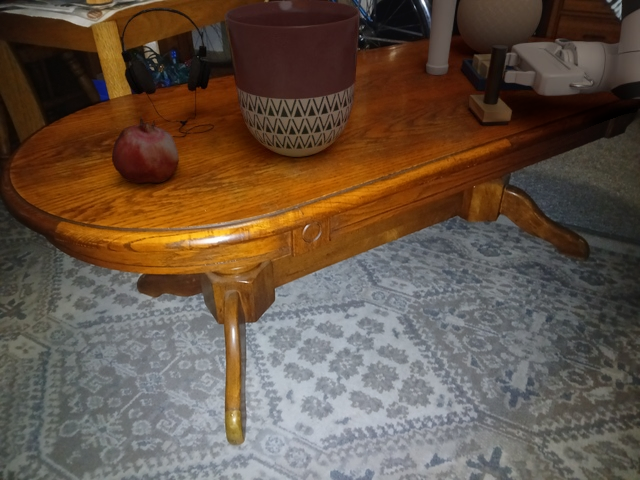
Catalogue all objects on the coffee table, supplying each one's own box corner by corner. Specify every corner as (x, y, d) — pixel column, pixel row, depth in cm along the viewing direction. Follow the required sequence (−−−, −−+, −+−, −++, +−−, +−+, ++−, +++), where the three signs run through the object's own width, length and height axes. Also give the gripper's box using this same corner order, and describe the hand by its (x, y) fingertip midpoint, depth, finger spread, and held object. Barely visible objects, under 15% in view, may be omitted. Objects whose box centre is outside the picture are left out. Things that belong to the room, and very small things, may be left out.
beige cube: (496, 79, 115) (499, 60, 112) (502, 84, 111) (506, 65, 109) (478, 79, 114) (481, 61, 112) (484, 85, 111) (487, 66, 109)
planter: (256, 125, 95) (245, -1, 83) (361, 129, 93) (365, 0, 80) (224, 172, 79) (205, 25, 67) (350, 179, 77) (353, 28, 65)
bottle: (427, 75, 119) (440, -48, 105) (423, 69, 123) (435, -50, 109) (450, 75, 119) (465, -48, 105) (444, 68, 123) (459, -51, 109)
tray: (560, 68, 122) (562, 57, 121) (588, 89, 109) (591, 77, 108) (461, 69, 123) (462, 59, 121) (477, 90, 110) (479, 78, 108)
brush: (492, 108, 101) (505, 40, 94) (509, 125, 93) (523, 52, 86) (467, 108, 101) (478, 40, 93) (482, 126, 93) (494, 53, 86)
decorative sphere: (482, 41, 145) (495, -39, 134) (547, 55, 132) (567, -33, 121) (436, 53, 135) (445, -32, 123) (502, 70, 122) (519, -24, 110)
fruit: (109, 177, 78) (92, 114, 73) (166, 159, 83) (154, 99, 78) (133, 199, 73) (116, 133, 67) (193, 179, 77) (182, 115, 72)
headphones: (132, 141, 90) (103, 19, 78) (138, 118, 99) (112, 6, 87) (219, 134, 92) (203, 14, 81) (217, 112, 101) (202, 2, 90)
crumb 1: (488, 71, 119) (491, 54, 117) (493, 76, 116) (497, 58, 114) (471, 72, 119) (473, 54, 117) (476, 77, 116) (479, 59, 113)
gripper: (593, 105, 85) (509, 105, 86) (553, 69, 102) (482, 69, 102) (605, 67, 81) (516, 67, 82) (561, 36, 98) (488, 36, 99)
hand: (497, 68), depth 92 cm, fingers open, 8 cm apart
